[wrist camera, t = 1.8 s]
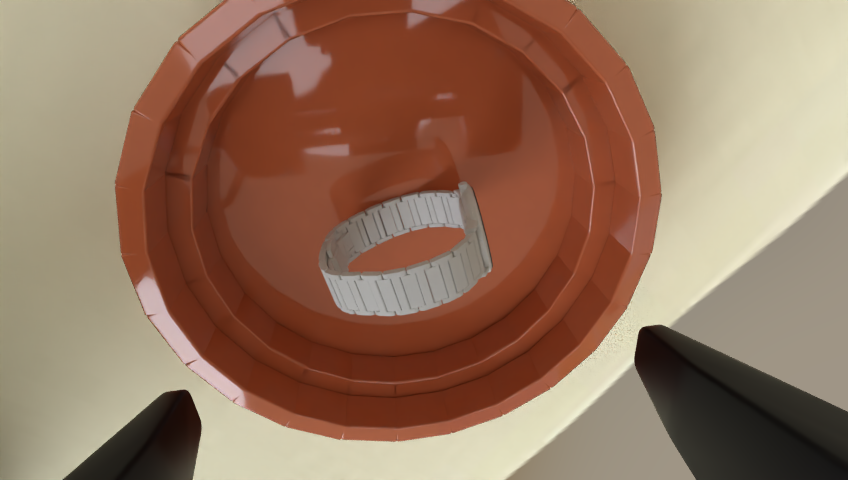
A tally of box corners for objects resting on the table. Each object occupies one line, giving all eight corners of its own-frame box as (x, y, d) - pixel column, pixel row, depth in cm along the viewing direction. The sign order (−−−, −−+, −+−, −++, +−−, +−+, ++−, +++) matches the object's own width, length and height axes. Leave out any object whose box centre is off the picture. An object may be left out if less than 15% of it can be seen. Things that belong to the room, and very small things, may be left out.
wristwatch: (475, 228, 17) (516, 305, 13) (344, 267, 17) (339, 358, 13) (457, 153, 16) (495, 212, 11) (315, 196, 16) (298, 270, 11)
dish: (586, 348, 21) (626, 408, 18) (232, 397, 20) (208, 470, 17) (631, -60, 14) (709, -78, 11) (89, -22, 13) (3, -29, 10)
